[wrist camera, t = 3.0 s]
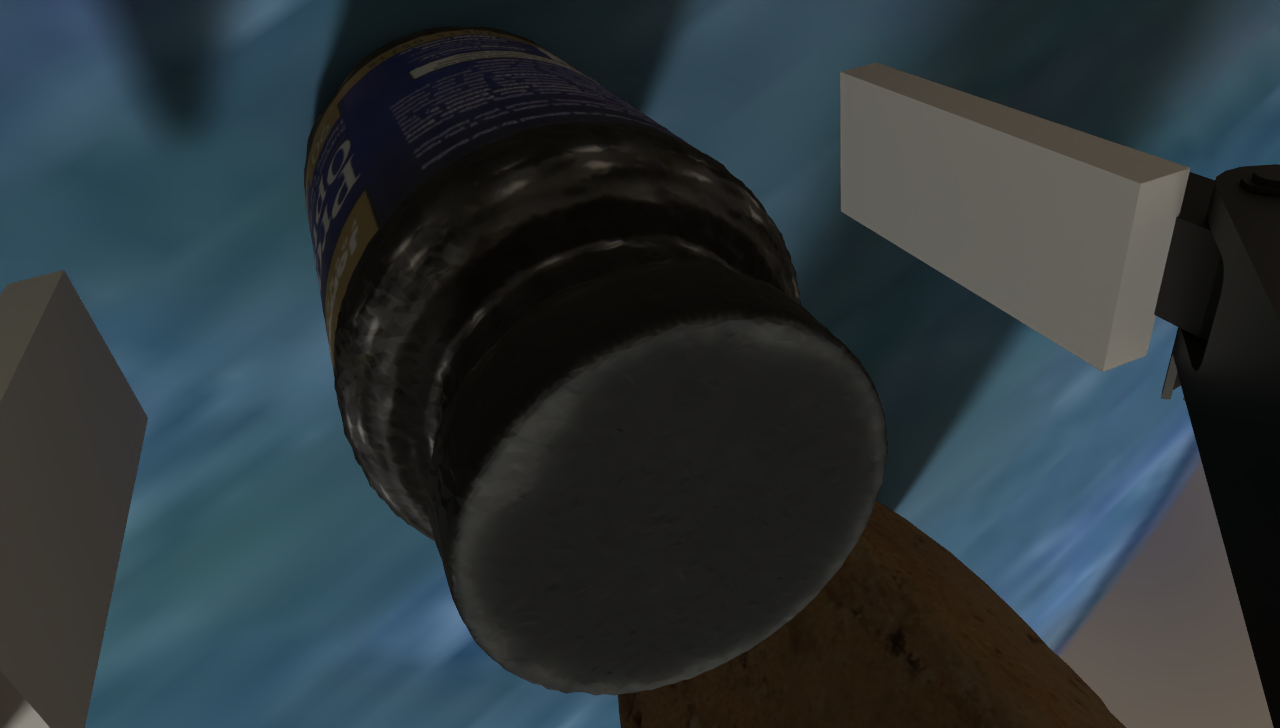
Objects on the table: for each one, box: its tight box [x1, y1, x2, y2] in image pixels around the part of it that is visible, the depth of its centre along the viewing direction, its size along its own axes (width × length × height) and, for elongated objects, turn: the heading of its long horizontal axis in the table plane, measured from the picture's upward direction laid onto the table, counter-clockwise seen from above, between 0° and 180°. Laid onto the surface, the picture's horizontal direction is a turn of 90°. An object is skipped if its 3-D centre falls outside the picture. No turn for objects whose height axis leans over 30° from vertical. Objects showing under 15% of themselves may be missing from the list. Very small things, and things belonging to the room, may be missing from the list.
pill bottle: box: [304, 26, 887, 695], centre depth 13 cm, size 6×6×11 cm
